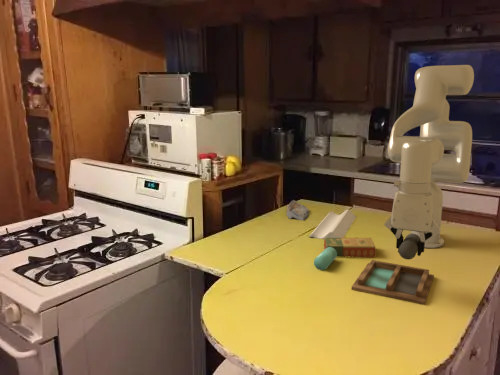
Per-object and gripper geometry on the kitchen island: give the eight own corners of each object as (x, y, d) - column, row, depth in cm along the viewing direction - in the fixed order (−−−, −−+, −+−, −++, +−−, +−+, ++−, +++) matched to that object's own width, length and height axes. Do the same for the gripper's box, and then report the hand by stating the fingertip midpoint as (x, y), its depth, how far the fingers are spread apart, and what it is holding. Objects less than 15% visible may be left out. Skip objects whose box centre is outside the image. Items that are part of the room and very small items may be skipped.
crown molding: (328, 215, 189) (329, 207, 188) (356, 218, 184) (357, 210, 183) (309, 238, 161) (309, 229, 160) (341, 243, 156) (341, 233, 156)
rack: (368, 265, 135) (368, 258, 135) (433, 277, 126) (434, 269, 126) (351, 289, 120) (351, 281, 119) (424, 304, 111) (425, 296, 110)
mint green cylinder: (322, 256, 142) (325, 245, 140) (335, 261, 140) (338, 249, 138) (312, 267, 134) (315, 254, 133) (325, 272, 132) (329, 259, 131)
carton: (375, 258, 142) (376, 246, 140) (325, 257, 143) (325, 245, 142) (371, 248, 150) (371, 237, 149) (323, 248, 151) (324, 236, 150)
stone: (308, 216, 180) (285, 207, 181) (304, 226, 181) (282, 218, 183) (312, 204, 196) (291, 196, 197) (309, 214, 197) (288, 206, 199)
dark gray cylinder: (404, 246, 124) (405, 232, 123) (420, 250, 122) (422, 235, 121) (397, 257, 116) (399, 242, 115) (414, 261, 114) (417, 245, 113)
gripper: (378, 187, 116) (375, 252, 120) (447, 193, 107) (441, 263, 112) (384, 181, 122) (381, 243, 126) (450, 187, 114) (444, 253, 118)
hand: (409, 252), depth 119 cm, fingers closed on dark gray cylinder, 4 cm apart
